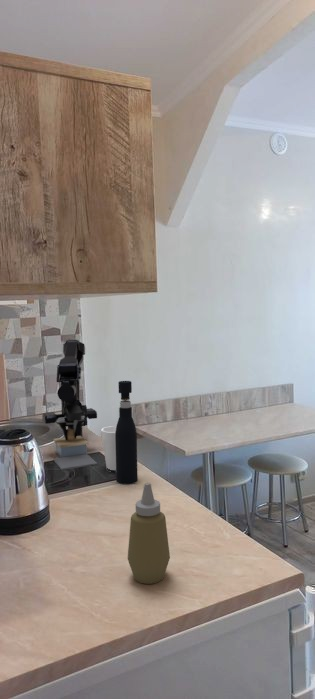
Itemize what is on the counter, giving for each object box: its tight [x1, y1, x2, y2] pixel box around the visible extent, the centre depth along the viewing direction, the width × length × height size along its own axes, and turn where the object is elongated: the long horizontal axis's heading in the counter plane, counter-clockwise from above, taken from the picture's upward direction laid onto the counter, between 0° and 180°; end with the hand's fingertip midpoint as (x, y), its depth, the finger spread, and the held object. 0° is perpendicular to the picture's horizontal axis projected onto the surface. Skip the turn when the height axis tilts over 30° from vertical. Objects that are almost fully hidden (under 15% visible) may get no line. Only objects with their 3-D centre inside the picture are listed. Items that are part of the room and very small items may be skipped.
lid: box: [53, 428, 89, 448], centre depth 172 cm, size 10×10×5 cm
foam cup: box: [100, 425, 117, 470], centre depth 155 cm, size 10×9×13 cm
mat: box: [53, 453, 98, 471], centre depth 162 cm, size 12×12×1 cm
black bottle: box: [115, 380, 139, 485], centre depth 143 cm, size 6×6×30 cm
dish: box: [55, 443, 88, 458], centre depth 173 cm, size 9×9×4 cm
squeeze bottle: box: [127, 482, 171, 585], centre depth 91 cm, size 8×8×18 cm
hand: (70, 439), depth 172 cm, fingers closed on lid, 3 cm apart
